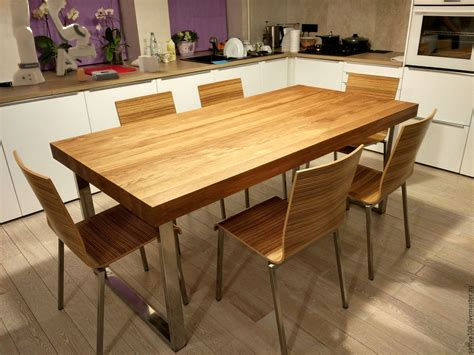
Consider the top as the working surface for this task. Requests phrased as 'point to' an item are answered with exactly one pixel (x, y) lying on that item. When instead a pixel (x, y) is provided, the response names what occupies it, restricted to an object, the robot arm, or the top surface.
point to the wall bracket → (61, 62)
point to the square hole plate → (105, 74)
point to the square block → (81, 74)
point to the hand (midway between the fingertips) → (82, 62)
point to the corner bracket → (148, 64)
